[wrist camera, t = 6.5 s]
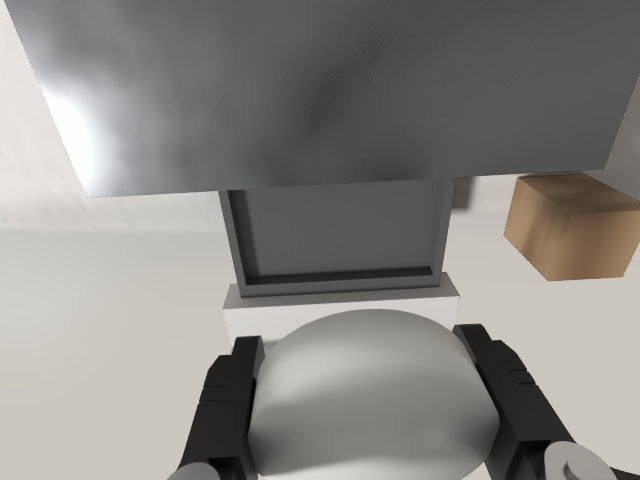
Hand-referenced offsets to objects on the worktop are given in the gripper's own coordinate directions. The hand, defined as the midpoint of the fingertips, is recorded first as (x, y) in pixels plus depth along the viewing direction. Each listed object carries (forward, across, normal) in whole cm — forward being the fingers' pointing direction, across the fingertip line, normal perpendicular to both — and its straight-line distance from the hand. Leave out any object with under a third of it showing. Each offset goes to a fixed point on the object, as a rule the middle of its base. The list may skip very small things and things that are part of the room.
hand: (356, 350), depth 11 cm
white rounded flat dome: (-1, 0, 0) cm, 1 cm away
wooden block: (+12, -13, +1) cm, 18 cm away
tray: (+12, 0, +2) cm, 12 cm away
